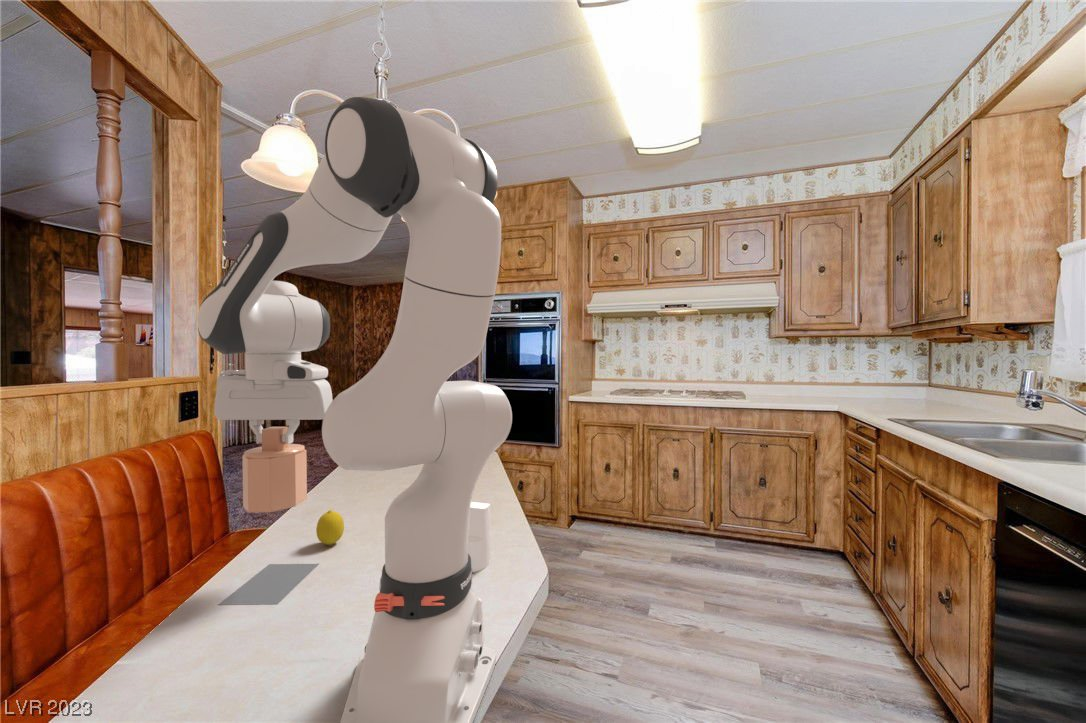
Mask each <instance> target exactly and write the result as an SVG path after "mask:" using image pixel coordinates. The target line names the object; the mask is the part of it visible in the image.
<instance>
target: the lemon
mask: <svg viewBox="0 0 1086 723" xmlns="http://www.w3.org/2000/svg"><path fill="white" fill-rule="evenodd" d="M315 530H316V531H315V532H316V536H317V538H318V541H319V542H320V543H321V544H324V545H327V546H332V545H334V544H335V543H337V542H338V541H340V539H341V538H342V536H343V534H344V532H345V531H344V530H345V523H344V518H343V516H342V514H340V513H339V512H337V511H333V510H332V509H330V510H327V512H325V513H323V514H322V515H321V516H320V517H319V519H318V521H317V523H316V529H315Z"/></svg>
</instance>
